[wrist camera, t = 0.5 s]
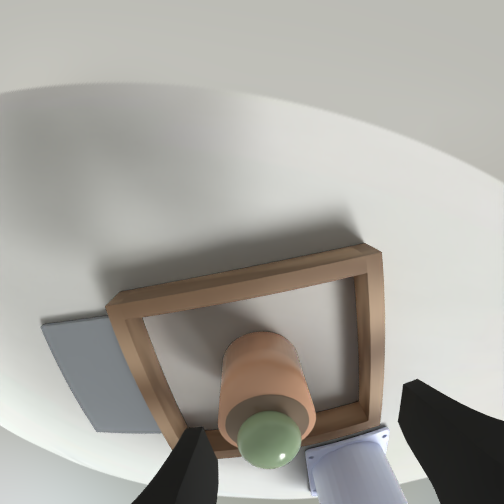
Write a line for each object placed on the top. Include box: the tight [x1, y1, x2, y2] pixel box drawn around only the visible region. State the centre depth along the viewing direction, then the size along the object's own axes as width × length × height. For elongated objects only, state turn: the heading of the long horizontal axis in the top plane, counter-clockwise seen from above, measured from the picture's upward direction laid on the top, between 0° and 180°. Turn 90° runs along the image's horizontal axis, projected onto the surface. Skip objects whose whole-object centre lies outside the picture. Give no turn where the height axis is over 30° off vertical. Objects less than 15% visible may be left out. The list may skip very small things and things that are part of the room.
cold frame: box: [105, 243, 385, 459], centre depth 18 cm, size 14×16×2 cm
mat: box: [41, 315, 162, 433], centre depth 20 cm, size 11×7×1 cm, turn 11°
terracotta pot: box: [218, 331, 316, 469], centre depth 15 cm, size 5×5×9 cm
